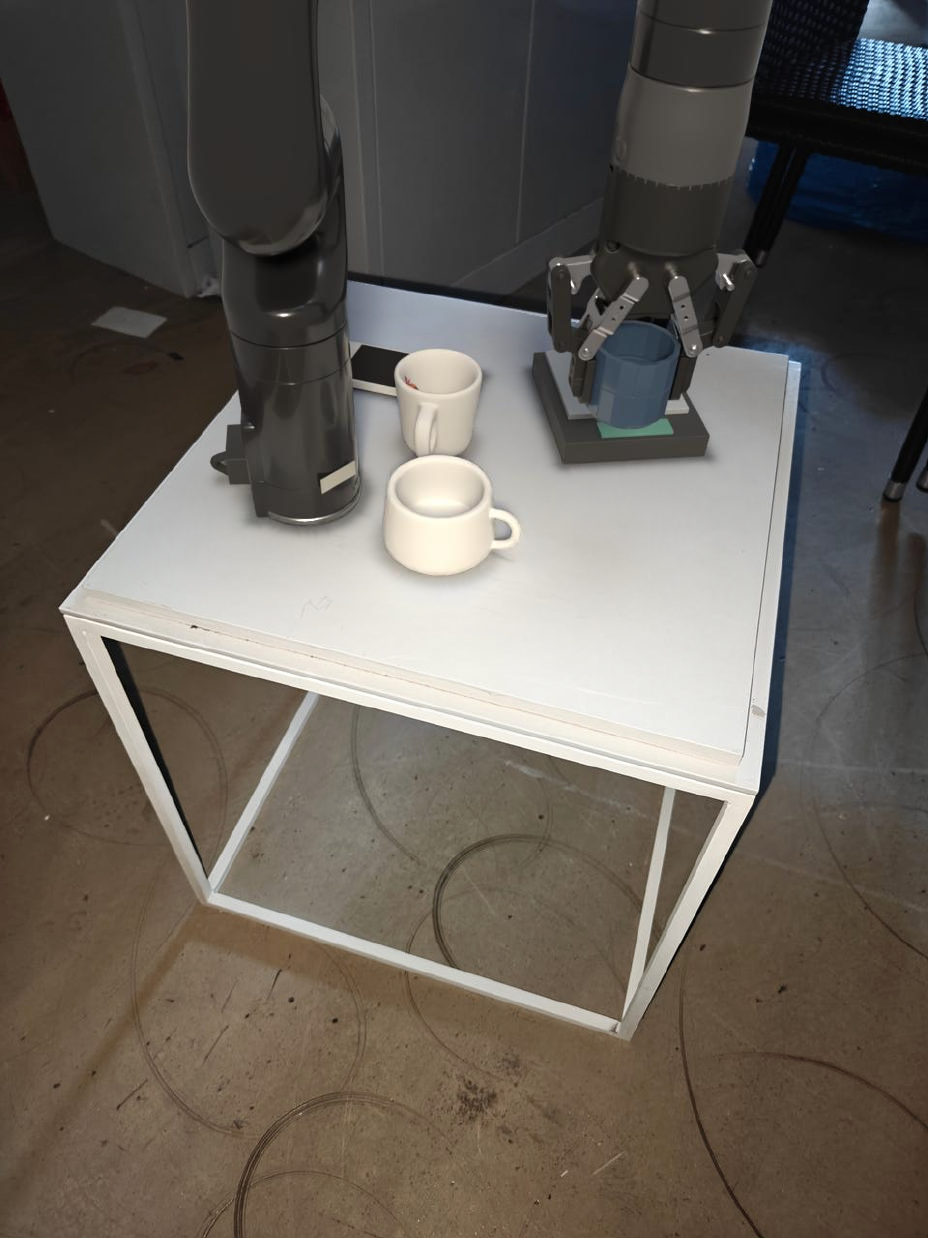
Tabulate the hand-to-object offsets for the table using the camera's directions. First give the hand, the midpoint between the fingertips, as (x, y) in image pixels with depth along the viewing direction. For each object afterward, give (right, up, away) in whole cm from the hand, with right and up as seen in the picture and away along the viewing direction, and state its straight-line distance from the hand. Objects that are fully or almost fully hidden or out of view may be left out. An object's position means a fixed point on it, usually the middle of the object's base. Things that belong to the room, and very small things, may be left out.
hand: (626, 395), depth 65 cm
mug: (-13, -10, +11) cm, 20 cm away
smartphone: (-19, +9, +28) cm, 35 cm away
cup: (-15, -1, +20) cm, 25 cm away
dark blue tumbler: (0, -1, +1) cm, 1 cm away
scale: (+3, +5, +26) cm, 26 cm away
